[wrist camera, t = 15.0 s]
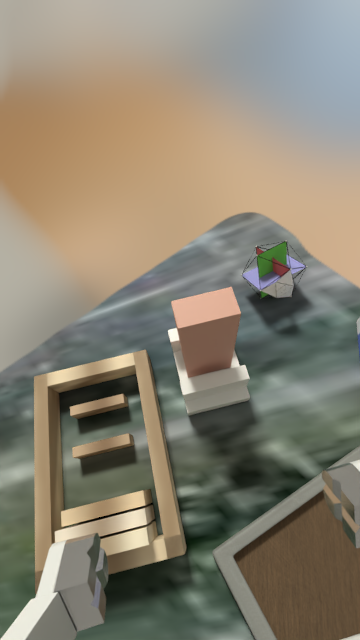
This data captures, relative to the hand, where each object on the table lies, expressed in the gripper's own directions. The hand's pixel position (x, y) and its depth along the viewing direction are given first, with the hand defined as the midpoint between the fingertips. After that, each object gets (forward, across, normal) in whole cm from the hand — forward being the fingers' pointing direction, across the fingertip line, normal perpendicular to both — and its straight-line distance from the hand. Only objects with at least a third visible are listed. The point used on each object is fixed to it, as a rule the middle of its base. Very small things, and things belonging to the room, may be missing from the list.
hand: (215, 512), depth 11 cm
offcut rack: (+21, +9, +12) cm, 26 cm away
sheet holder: (+25, -4, +7) cm, 27 cm away
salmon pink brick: (+24, -4, +6) cm, 25 cm away
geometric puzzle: (+31, -15, +1) cm, 35 cm away
